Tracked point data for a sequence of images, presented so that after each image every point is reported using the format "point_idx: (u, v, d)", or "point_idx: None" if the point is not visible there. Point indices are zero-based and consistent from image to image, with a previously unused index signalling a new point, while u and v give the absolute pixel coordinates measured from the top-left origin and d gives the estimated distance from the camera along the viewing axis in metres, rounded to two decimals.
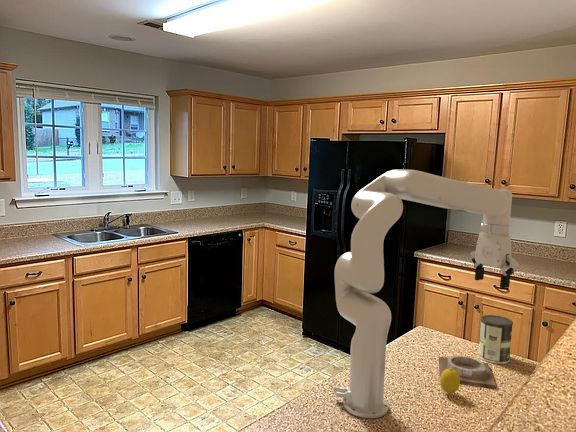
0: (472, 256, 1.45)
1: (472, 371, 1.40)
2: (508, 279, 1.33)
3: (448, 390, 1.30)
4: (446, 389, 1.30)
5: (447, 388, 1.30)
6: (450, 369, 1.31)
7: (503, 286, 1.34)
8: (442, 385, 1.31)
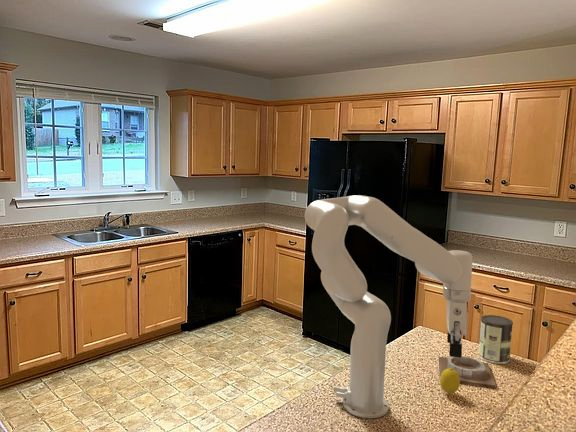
0: (459, 336, 1.23)
1: (472, 371, 1.40)
2: None
3: (448, 390, 1.30)
4: (446, 389, 1.30)
5: (447, 388, 1.30)
6: (450, 369, 1.31)
7: None
8: (442, 385, 1.31)
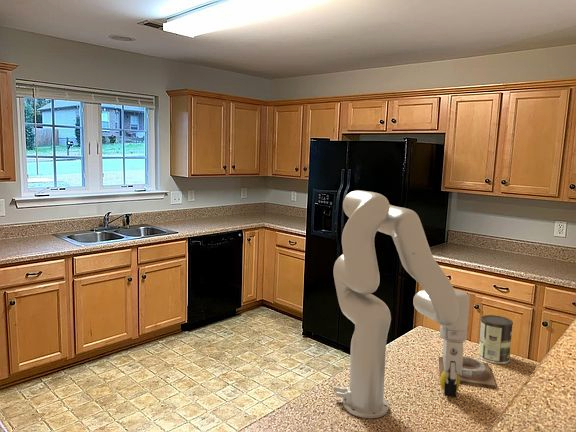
0: (454, 378, 1.25)
1: (472, 371, 1.40)
2: None
3: None
4: None
5: None
6: None
7: None
8: (442, 385, 1.31)
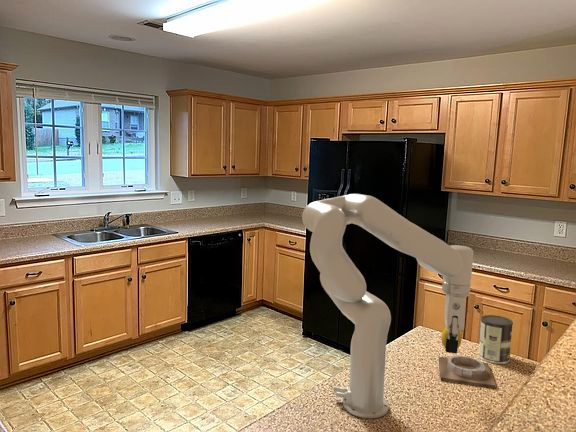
0: None
1: (472, 371, 1.40)
2: None
3: None
4: None
5: None
6: None
7: None
8: (443, 342, 1.29)
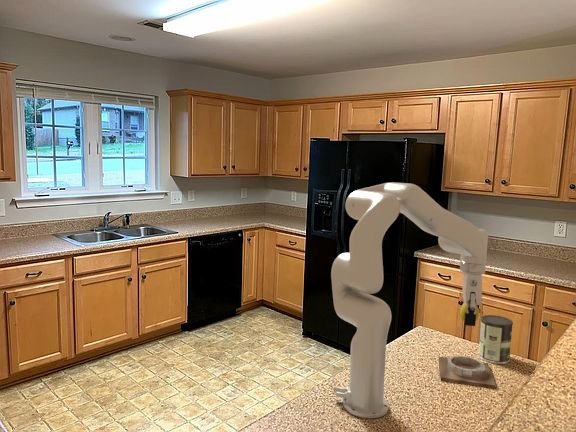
0: None
1: (472, 371, 1.40)
2: None
3: None
4: None
5: None
6: None
7: None
8: (462, 316, 1.42)
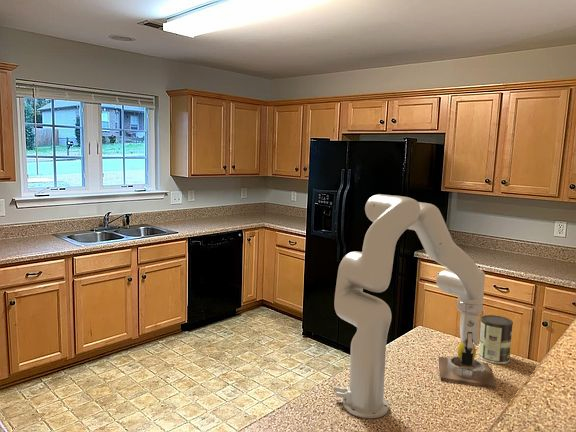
0: None
1: (472, 371, 1.40)
2: None
3: None
4: None
5: None
6: None
7: None
8: (459, 355, 1.44)
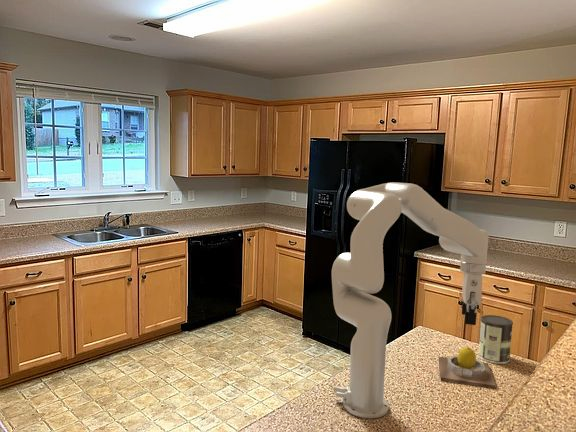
0: (475, 304, 1.35)
1: (472, 371, 1.40)
2: None
3: (464, 366, 1.43)
4: (463, 365, 1.44)
5: (464, 364, 1.43)
6: (467, 348, 1.44)
7: None
8: (459, 361, 1.44)
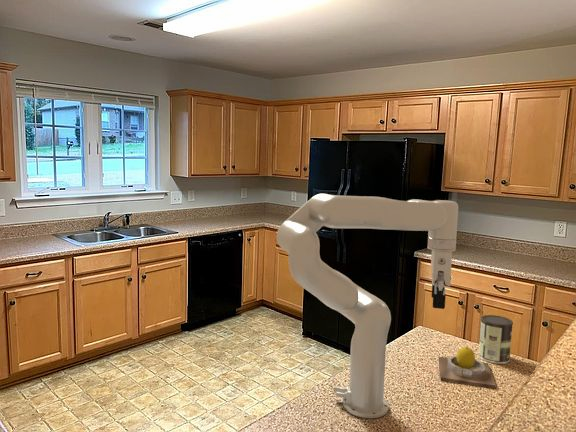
0: (443, 285, 1.19)
1: (472, 371, 1.40)
2: None
3: (464, 366, 1.43)
4: (462, 365, 1.44)
5: (463, 364, 1.43)
6: (466, 347, 1.44)
7: None
8: (458, 362, 1.45)
